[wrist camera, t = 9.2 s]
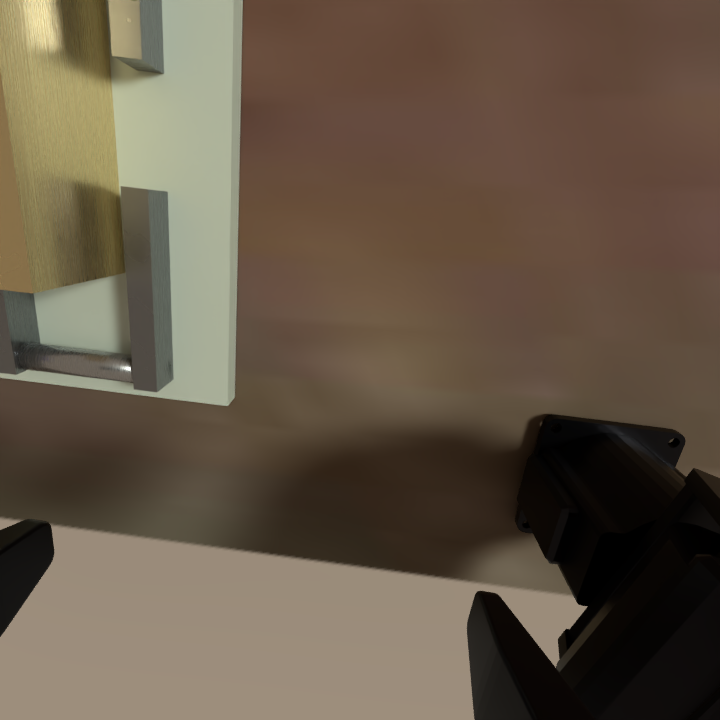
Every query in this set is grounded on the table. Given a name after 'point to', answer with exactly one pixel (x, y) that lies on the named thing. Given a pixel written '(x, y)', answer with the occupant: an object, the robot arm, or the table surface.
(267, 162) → the table surface
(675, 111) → the table surface
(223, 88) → the base board
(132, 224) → the chain end links
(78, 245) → the link bar
